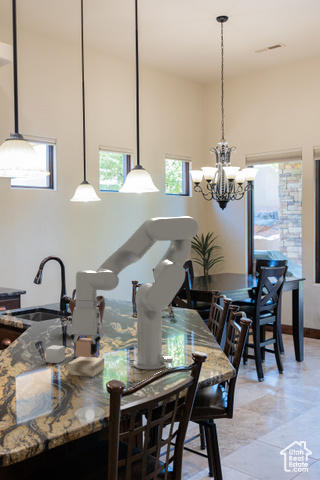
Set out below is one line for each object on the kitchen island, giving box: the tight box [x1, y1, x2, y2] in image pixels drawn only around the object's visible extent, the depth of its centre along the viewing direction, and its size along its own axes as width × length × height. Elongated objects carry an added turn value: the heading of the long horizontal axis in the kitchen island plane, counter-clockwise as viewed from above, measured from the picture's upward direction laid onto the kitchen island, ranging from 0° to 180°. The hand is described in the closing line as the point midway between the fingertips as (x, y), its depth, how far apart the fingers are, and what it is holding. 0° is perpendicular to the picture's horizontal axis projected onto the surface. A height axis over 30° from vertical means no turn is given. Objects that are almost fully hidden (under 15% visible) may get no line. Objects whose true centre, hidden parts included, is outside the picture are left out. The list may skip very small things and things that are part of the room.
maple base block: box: [67, 357, 105, 377], centre depth 177 cm, size 10×10×4 cm
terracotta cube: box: [76, 338, 96, 357], centre depth 177 cm, size 6×6×6 cm
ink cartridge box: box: [73, 333, 101, 358], centre depth 199 cm, size 10×6×14 cm, turn 85°
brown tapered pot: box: [68, 295, 106, 325], centre depth 246 cm, size 18×20×18 cm
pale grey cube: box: [45, 344, 66, 364], centre depth 192 cm, size 6×6×6 cm
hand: (85, 352), depth 177 cm, fingers closed on terracotta cube, 5 cm apart
